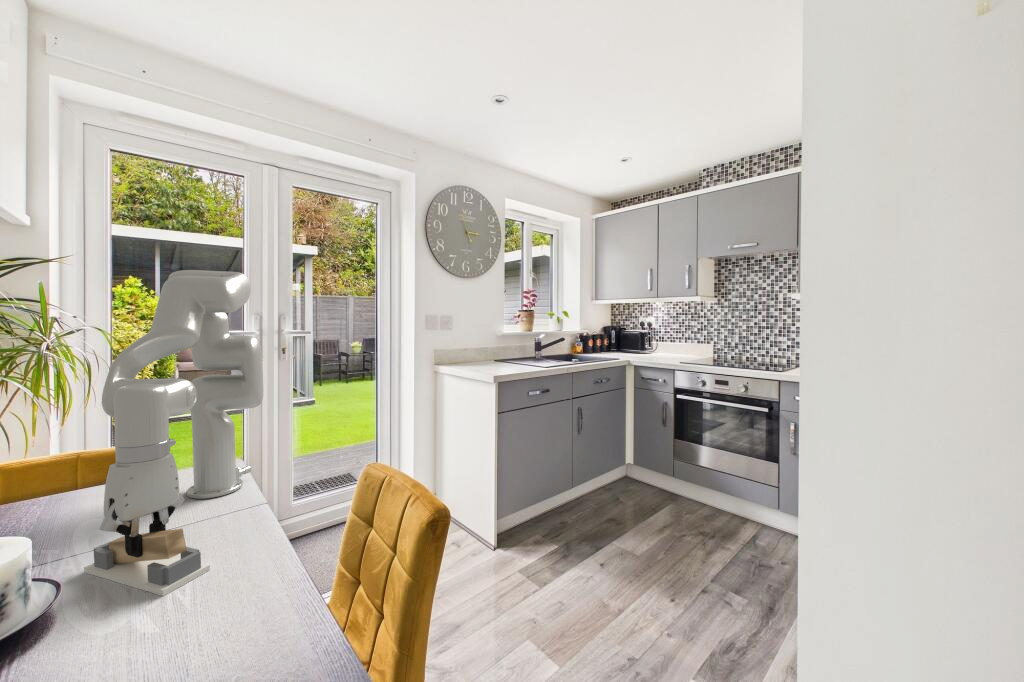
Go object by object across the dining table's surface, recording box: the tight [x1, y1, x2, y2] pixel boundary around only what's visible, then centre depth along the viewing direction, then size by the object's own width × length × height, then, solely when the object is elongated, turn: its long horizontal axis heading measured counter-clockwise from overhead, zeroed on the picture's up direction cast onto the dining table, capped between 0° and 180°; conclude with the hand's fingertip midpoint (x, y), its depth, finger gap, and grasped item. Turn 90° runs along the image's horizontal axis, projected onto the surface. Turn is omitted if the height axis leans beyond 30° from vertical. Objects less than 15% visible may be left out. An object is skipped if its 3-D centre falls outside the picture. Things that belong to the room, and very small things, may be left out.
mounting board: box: [83, 535, 211, 597], centre depth 80 cm, size 8×21×4 cm, turn 72°
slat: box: [107, 527, 187, 564], centre depth 79 cm, size 3×16×4 cm, turn 71°
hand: (146, 549), depth 79 cm, fingers closed on slat, 3 cm apart
